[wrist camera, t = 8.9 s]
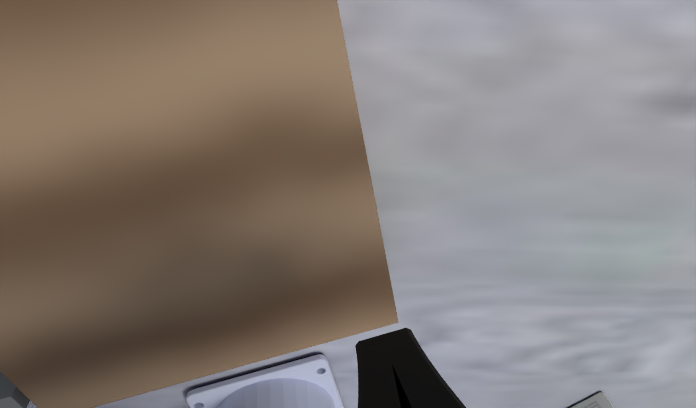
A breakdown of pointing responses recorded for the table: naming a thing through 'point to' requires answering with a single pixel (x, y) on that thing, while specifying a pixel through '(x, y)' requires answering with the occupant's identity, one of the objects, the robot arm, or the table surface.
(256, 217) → the drawer casing
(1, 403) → the box
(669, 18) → the table surface
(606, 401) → the supplement box
